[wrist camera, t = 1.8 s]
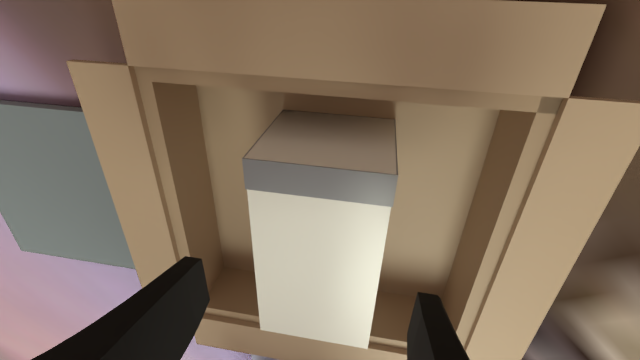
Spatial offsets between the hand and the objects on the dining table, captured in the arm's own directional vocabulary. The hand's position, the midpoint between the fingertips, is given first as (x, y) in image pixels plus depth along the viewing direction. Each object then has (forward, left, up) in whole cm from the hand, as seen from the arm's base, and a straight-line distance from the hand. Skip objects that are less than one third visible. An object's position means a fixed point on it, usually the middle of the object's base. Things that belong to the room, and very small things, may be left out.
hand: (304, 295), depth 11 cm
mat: (-3, +17, -7) cm, 18 cm away
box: (-1, 0, -7) cm, 7 cm away
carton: (-1, 0, -7) cm, 7 cm away
